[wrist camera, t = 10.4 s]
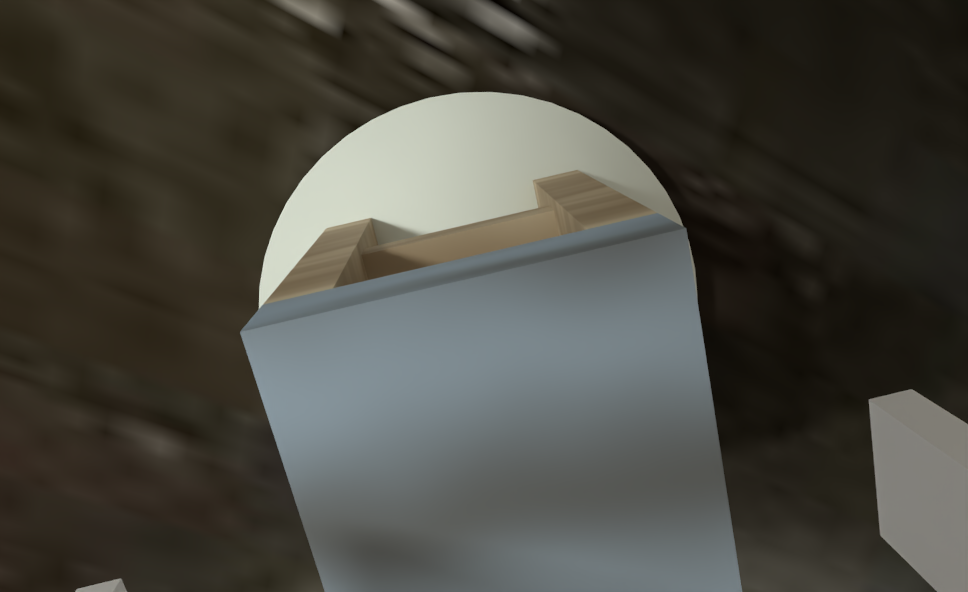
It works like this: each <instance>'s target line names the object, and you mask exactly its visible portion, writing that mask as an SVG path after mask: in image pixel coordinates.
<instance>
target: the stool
mask: <svg viewBox="0 0 968 592" xmlns="http://www.w3.org/2000/svg"><path fill="white" fill-rule="evenodd" d="M533 184H534V189H535V194H536V199H537V204H538V208H536V209H532V210H527V211H523V212H519V213H515V214H510V215H506V216H502V217H497V218H493V219H489V220H484V221H480V222H476V223H472V224H467V225H463V226H459V227H454V228H450V229H446V230H441V231H437V232H433V233H429V234H424V235H420V236H416V237H411V238H407V239H403V240H398V241H394V242H390V243H386V244H381V245H378V242H377V239H376V235H375V231H374V227H373V224H372V220H371V218H368V219H364V220H359V221H355V222H351V223H346V224H342V225H338V226H334V227H329V228H326V229H325V230H324V232H323V233H322V234H321V235H320V236H319V238H318V239H317V240H316V241H315V242H314V244H313V245H312V246H311V247H310V248H309V250H308V251H307V252H306V253H305V254H304V256H303V257H302V258H301V259H300V260H299V262H298V263H297V264H296V265H295V267H294V268H293V269H292V270H291V271H290V273H289V274H288V275H287V276H286V277H285V279H284V280H283V281H282V282H281V283H280V285H279V286H278V287H277V288H276V289H275V291H274V292H273V293H272V294H271V295H270V297H269V298H268V299H267V300H266V301H265V303H264V304H263V305H262V306H261V307H260V309H259V310H258V311H257V312H256V313H255V315H254V316H253V317H252V318H251V319H250V321H249V322H248V323H247V324H246V325H245V327H244V328H243V329H242V330H241V331H240V333H241V336H242V339H243V342H244V346H245V349H246V352H247V355H248V358H249V361H250V364H251V367H252V370H253V373H254V376H255V379H256V382H257V385H258V388H259V391H260V394H261V398H262V401H263V404H264V407H265V410H266V413H267V416H268V419H269V422H270V425H271V428H272V431H273V434H274V437H275V440H276V443H277V446H278V449H279V453H280V456H281V459H282V462H283V465H284V468H285V471H286V474H287V477H288V480H289V483H290V486H291V489H292V492H293V495H294V498H295V501H296V505H297V508H298V511H299V514H300V517H301V520H302V523H303V526H304V529H305V532H306V535H307V538H308V541H309V544H310V547H311V550H312V553H313V556H314V560H315V563H316V566H317V569H318V572H319V575H320V578H321V581H322V584H323V587H324V590H325V592H742V587H741V581H740V574H739V568H738V561H737V555H736V548H735V542H734V535H733V529H732V522H731V516H730V509H729V503H728V496H727V490H726V483H725V477H724V470H723V464H722V457H721V451H720V444H719V438H718V431H717V425H716V418H715V412H714V405H713V399H712V392H711V386H710V379H709V373H708V366H707V360H706V353H705V347H704V340H703V334H702V327H701V321H700V314H699V308H698V301H697V295H696V288H695V282H694V275H693V269H692V262H691V256H690V249H689V243H688V236H687V230H686V228H685V227H683V226H681V225H679V224H677V223H676V222H674V221H672V220H670V219H668V218H666V217H664V216H662V215H661V214H659V213H657V212H655V211H653V210H651V209H649V208H648V207H646V206H644V205H642V204H640V203H638V202H636V201H634V200H633V199H631V198H629V197H627V196H625V195H623V194H621V193H620V192H618V191H616V190H614V189H612V188H610V187H608V186H606V185H605V184H603V183H601V182H599V181H597V180H595V179H593V178H592V177H590V176H588V175H586V174H584V173H582V172H580V171H578V170H574V171H570V172H566V173H562V174H557V175H553V176H549V177H544V178H540V179H536V180H533Z"/></svg>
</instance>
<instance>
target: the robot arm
mask: <svg viewBox="0 0 968 592" xmlns="http://www.w3.org/2000/svg"><path fill="white" fill-rule="evenodd" d="M869 410H870V421H871V433H872V445H873V457H874V468H875V480H876V492H877V503H878V515H879V527H880V536H881V537H882V538H883V539H884V540H885V541H886V542H887V543H888V544H889V545H890V546H891V547H892V548H893V549H894V550H895V551H896V552H897V553H898V554H899V555H901V556H902V557H903V558H904V559H905V560H906V561H907V562H908V563H909V564H910V565H911V566H912V567H913V568H914V569H915V570H916V571H917V572H918V573H919V574H920V575H921V576H922V577H923V578H924V579H925V580H926V581H927V582H928V583H929V584H930V585H931V586H932V587H933V588H934V589H935V590H936V591H937V592H968V424H967V423H965V422H964V421H962V420H960V419H959V418H957V417H956V416H954V415H952V414H951V413H949V412H948V411H946V410H944V409H943V408H941V407H940V406H938V405H936V404H935V403H933V402H931V401H930V400H928V399H927V398H925V397H923V396H922V395H920V394H919V393H917V392H915V391H914V390H912V389H910V390H906V391H902V392H898V393H893V394H889V395H885V396H881V397H877V398H873V399H869ZM75 592H127V591H126V589H125V586H124V584H123V582H122V579H117V580H113V581H109V582H104V583H100V584H96V585H92V586H88V587H83V588H79V589H77V590H76V591H75Z"/></svg>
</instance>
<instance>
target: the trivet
mask: <svg viewBox="0 0 968 592" xmlns="http://www.w3.org/2000/svg"><path fill="white" fill-rule="evenodd" d="M574 170H578V171H580V172H582V173H584V174H586V175H588V176H590V177H592V178H593V179H595V180H597V181H599V182H601V183H603V184H605V185H606V186H608V187H610V188H612V189H614V190H616V191H618V192H620V193H621V194H623V195H625V196H627V197H629V198H631V199H633V200H634V201H636V202H638V203H640V204H642V205H644V206H646V207H648V208H649V209H651V210H653V211H655V212H657V213H659V214H661V215H662V216H664V217H666V218H668V219H670V220H672V221H674V222H676V223H677V224H679V225H681V226H683V224H682V222H681V219H680V216H679V214H678V213H677V211H676V209H675V207H674V205H673V203H672V201H671V200H670V198H669V196H668V194H667V192H666V191H665V189H664V188H663V186H662V185H661V184H660V182H659V181H658V180H657V178H656V177H655V176H654V174H653V173H652V171H651V170H650V169H649V168H648V166H647V165H646V164H645V163H644V162H643V161H642V160H641V159H640V158H639V157H638V156H637V155H636V154H635V153H634V152H633V151H632V150H631V149H630V148H629V147H628V146H627V145H625V144H624V143H623V142H621V141H620V140H619V139H617V138H616V137H615V136H614V135H612V134H611V133H610V132H608V131H607V130H606V129H604V128H603V127H601V126H599V125H597V124H596V123H594V122H592V121H590V120H589V119H587V118H585V117H583V116H582V115H580V114H578V113H575V112H573V111H570V110H568V109H565V108H563V107H560V106H558V105H555V104H553V103H550V102H546V101H542V100H538V99H534V98H530V97H526V96H522V95H514V94H505V93H496V92H471V93H456V94H449V95H443V96H437V97H431V98H427V99H424V100H421V101H417V102H414V103H411V104H408V105H404V106H401V107H399V108H396V109H394V110H392V111H390V112H388V113H386V114H383V115H381V116H379V117H377V118H375V119H373V120H371V121H369V122H368V123H366V124H365V125H363V126H361V127H360V128H358V129H357V130H355V131H354V132H352V133H350V134H349V135H347V136H346V137H345V138H343V139H342V140H341V141H340V142H339V143H338V144H336V145H335V146H334V147H333V148H332V149H331V150H329V151H328V152H327V153H326V154H325V155H324V156H322V158H321V159H320V160H319V161H318V162H317V163H316V164H315V165H314V167H313V168H312V169H311V170H310V171H309V172H308V173H307V174H306V176H305V177H304V178H303V179H302V181H301V182H300V184H299V185H298V187H297V188H296V190H295V191H294V193H293V194H292V196H291V197H290V198H289V200H288V201H287V203H286V205H285V207H284V209H283V211H282V213H281V215H280V217H279V219H278V221H277V224H276V226H275V228H274V230H273V233H272V236H271V239H270V242H269V245H268V248H267V251H266V255H265V258H264V264H263V269H262V275H261V281H260V292H259V309H260V307H261V306H262V305H263V304H264V303H265V301H266V300H267V299H268V298H269V297H270V295H271V294H272V293H273V292H274V291H275V289H276V288H277V287H278V286H279V285H280V283H281V282H282V281H283V280H284V279H285V277H286V276H287V275H288V274H289V273H290V271H291V270H292V269H293V268H294V267H295V265H296V264H297V263H298V262H299V260H300V259H301V258H302V257H303V256H304V254H305V253H306V252H307V251H308V250H309V248H310V247H311V246H312V245H313V244H314V242H315V241H316V240H317V239H318V238H319V236H320V235H321V234H322V233H323V232H324V230H325V229H326V228H329V227H334V226H338V225H342V224H346V223H351V222H355V221H359V220H364V219H368V218H371V220H372V224H373V227H374V231H375V235H376V239H377V242H378V245H381V244H386V243H390V242H394V241H398V240H403V239H407V238H411V237H416V236H420V235H424V234H429V233H433V232H437V231H441V230H446V229H450V228H454V227H459V226H463V225H467V224H472V223H476V222H480V221H484V220H489V219H493V218H497V217H502V216H506V215H510V214H515V213H519V212H523V211H527V210H532V209H536V208H538V204H537V199H536V194H535V189H534V184H533V180H536V179H540V178H544V177H549V176H553V175H557V174H562V173H566V172H570V171H574ZM688 243H689V240H688ZM689 249H690V256H691V262H692V269H693V275H694V282H695V288H696V295H697V285H696V273H695V266H694V262H693V257H692V253H691V248H690V244H689Z"/></svg>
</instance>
